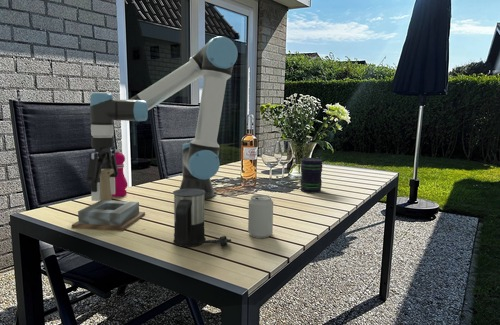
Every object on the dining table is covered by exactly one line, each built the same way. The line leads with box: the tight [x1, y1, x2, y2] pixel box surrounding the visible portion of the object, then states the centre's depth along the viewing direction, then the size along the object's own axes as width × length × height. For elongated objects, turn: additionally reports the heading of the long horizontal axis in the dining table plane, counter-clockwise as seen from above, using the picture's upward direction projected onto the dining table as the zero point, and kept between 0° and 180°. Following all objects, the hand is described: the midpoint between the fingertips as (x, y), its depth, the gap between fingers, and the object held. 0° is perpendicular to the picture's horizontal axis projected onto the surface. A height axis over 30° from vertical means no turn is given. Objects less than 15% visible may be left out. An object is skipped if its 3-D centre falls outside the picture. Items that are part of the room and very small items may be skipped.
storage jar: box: [299, 157, 323, 194], centre depth 169 cm, size 10×10×15 cm
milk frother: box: [172, 188, 232, 248], centre depth 102 cm, size 14×16×15 cm
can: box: [247, 194, 274, 239], centre depth 110 cm, size 8×8×12 cm
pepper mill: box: [111, 148, 128, 198], centre depth 155 cm, size 7×7×20 cm
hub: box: [71, 200, 146, 232], centre depth 121 cm, size 17×17×5 cm
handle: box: [99, 168, 114, 201], centre depth 133 cm, size 5×6×15 cm
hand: (104, 197), depth 133 cm, fingers open, 10 cm apart
